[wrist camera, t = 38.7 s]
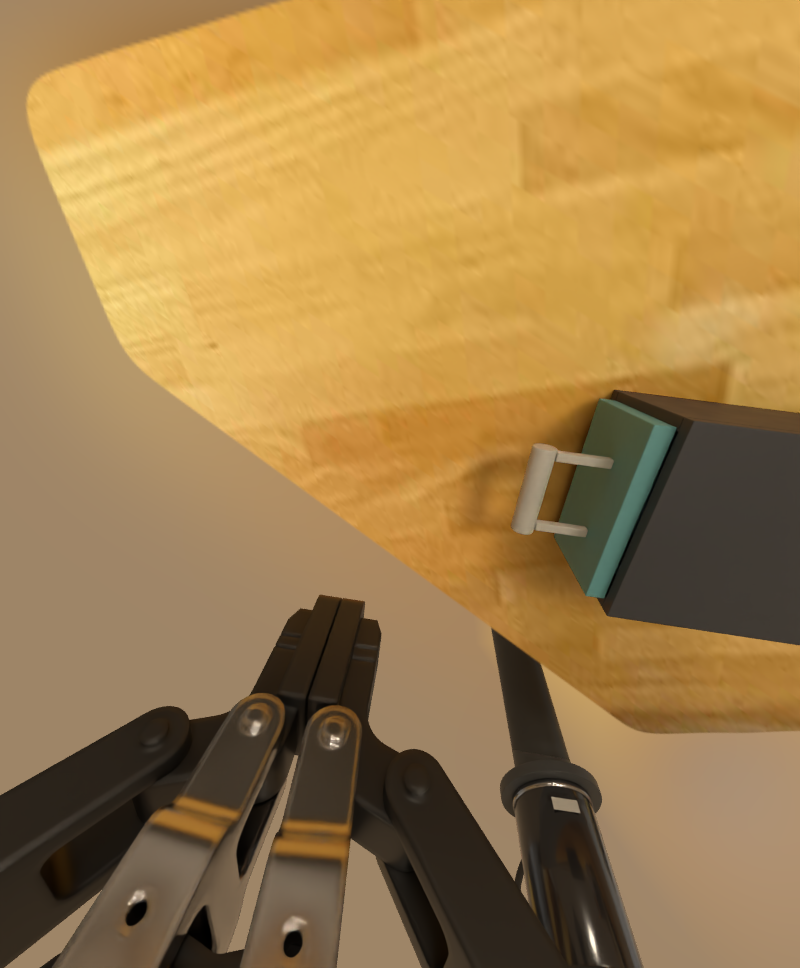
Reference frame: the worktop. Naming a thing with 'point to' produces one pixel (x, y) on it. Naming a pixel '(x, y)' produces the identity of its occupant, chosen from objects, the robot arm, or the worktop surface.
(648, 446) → the teal drawer
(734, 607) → the dark grey drawer cabinet
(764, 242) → the worktop surface
